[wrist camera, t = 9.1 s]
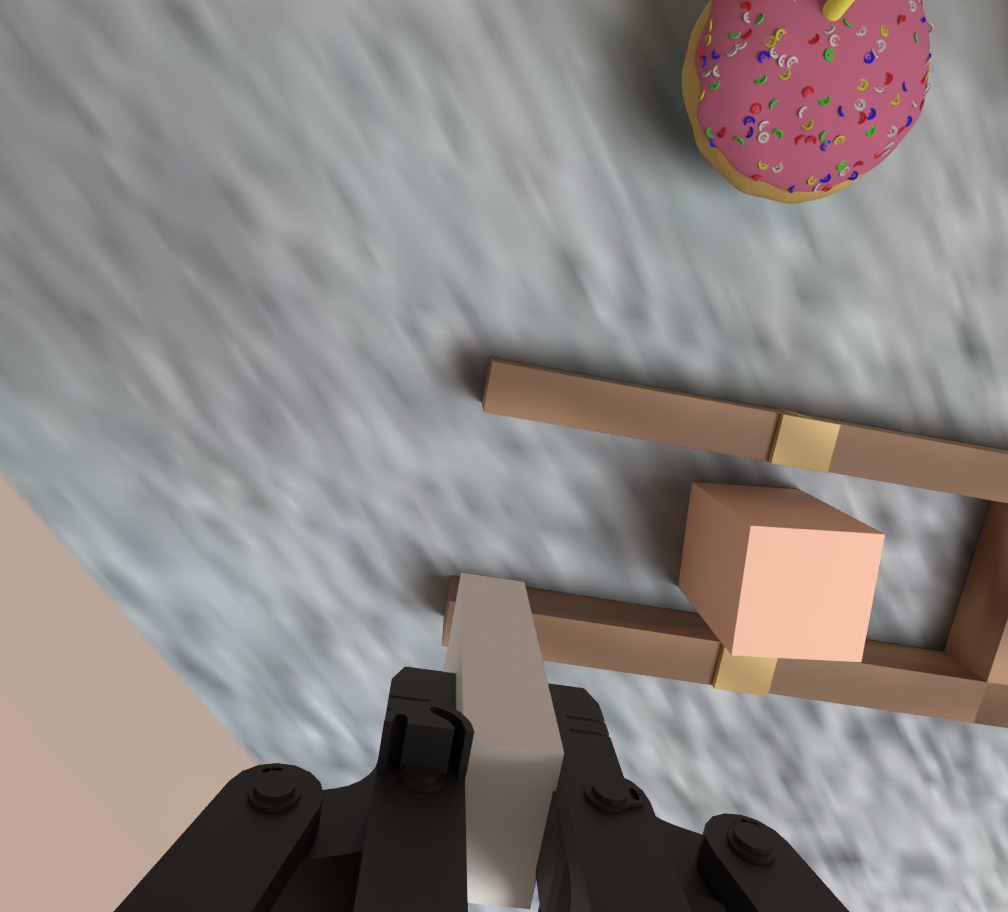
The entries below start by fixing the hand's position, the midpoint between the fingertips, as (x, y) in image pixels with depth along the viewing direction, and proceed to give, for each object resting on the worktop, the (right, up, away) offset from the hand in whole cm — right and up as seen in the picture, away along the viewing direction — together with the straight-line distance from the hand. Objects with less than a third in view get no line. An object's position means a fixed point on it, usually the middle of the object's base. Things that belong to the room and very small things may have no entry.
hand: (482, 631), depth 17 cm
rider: (+11, 0, +17) cm, 20 cm away
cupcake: (+11, +18, +13) cm, 25 cm away
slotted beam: (+12, 0, +17) cm, 20 cm away
